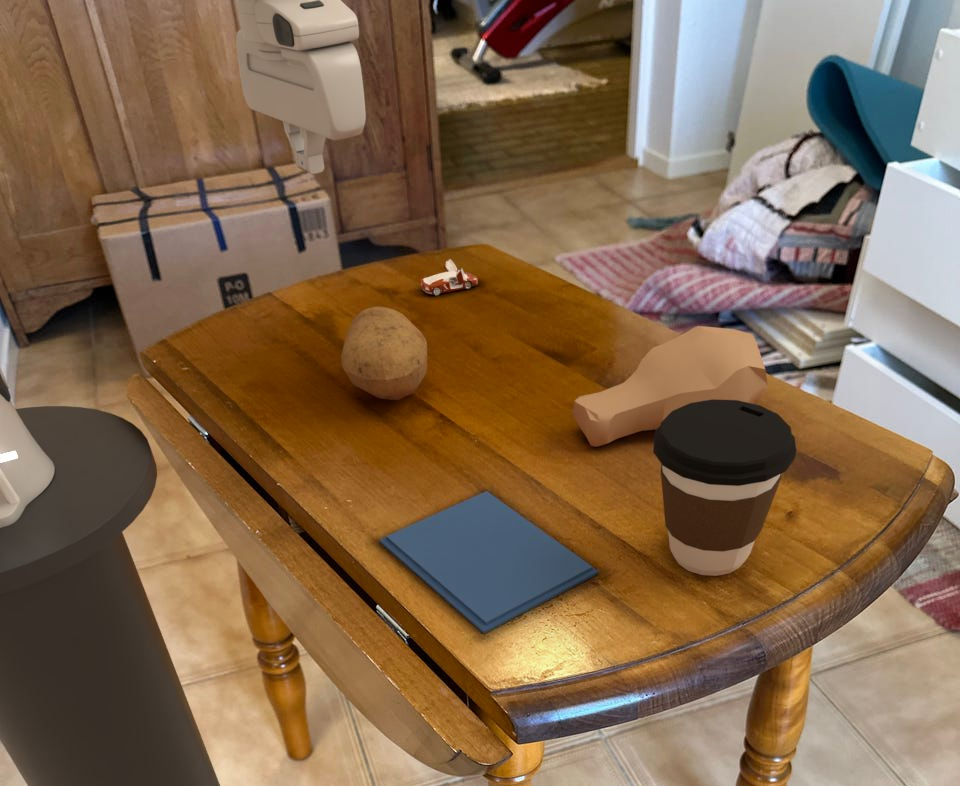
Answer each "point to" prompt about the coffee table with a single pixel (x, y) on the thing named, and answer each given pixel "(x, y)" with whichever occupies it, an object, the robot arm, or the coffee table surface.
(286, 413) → the coffee table surface
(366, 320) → the potato
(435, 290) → the toy car
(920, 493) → the coffee table surface
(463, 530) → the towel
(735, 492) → the coffee cup
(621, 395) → the squash
